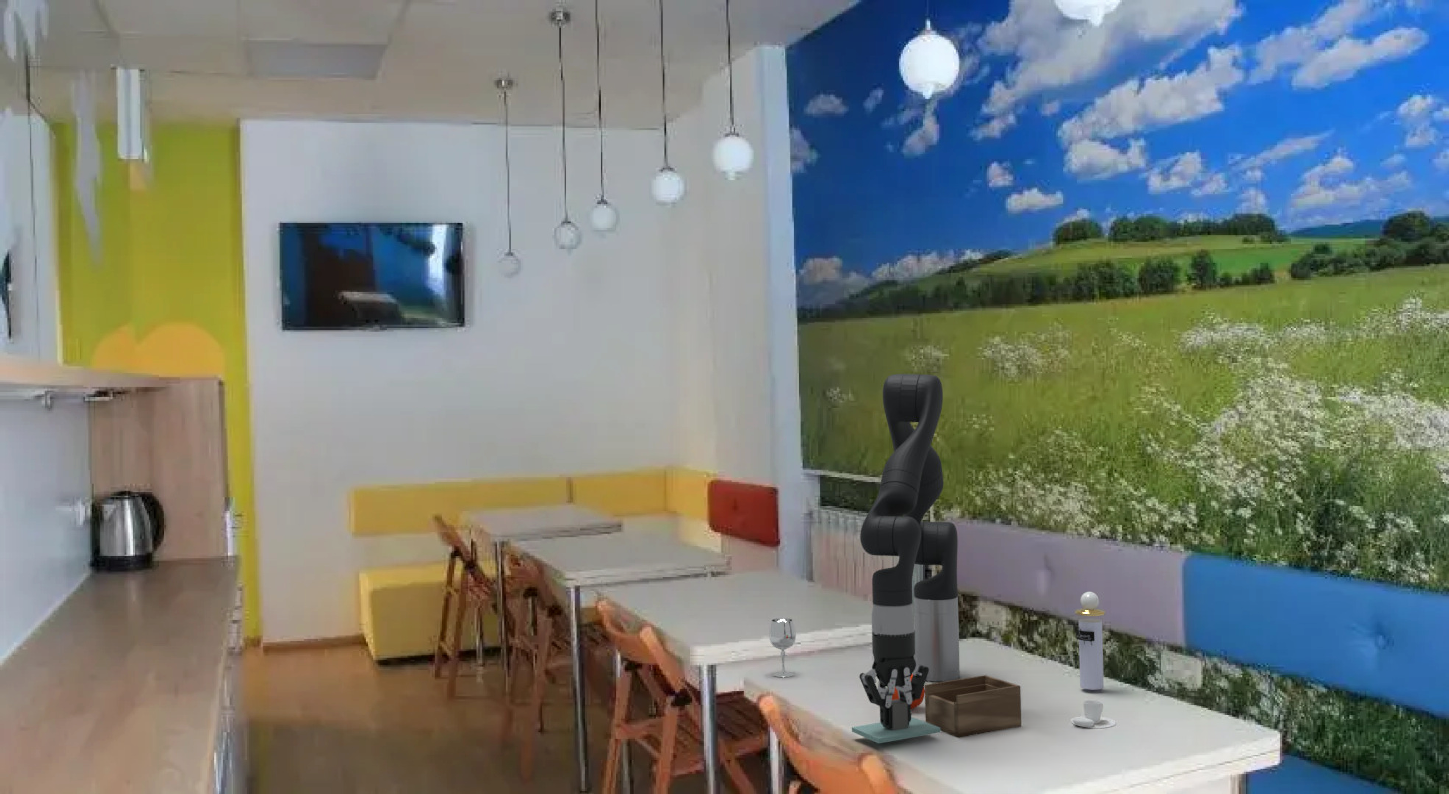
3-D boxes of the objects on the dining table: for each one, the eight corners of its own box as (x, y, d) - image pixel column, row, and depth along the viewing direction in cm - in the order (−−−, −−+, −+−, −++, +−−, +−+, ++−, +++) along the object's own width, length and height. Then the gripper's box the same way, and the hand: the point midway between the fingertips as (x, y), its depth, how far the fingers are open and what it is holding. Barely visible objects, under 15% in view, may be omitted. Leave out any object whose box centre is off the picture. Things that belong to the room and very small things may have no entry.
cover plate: (852, 731, 218) (851, 702, 218) (912, 721, 224) (911, 692, 224) (878, 743, 211) (877, 712, 211) (940, 732, 216) (939, 702, 216)
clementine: (897, 716, 233) (896, 679, 232) (877, 708, 239) (876, 671, 239) (932, 710, 236) (931, 673, 236) (912, 703, 242) (911, 667, 242)
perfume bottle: (1087, 685, 252) (1084, 588, 252) (1112, 690, 248) (1110, 591, 248) (1071, 690, 248) (1068, 592, 248) (1096, 695, 244) (1094, 595, 244)
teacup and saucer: (1082, 733, 220) (1081, 710, 220) (1058, 721, 228) (1058, 699, 228) (1124, 728, 222) (1124, 705, 222) (1100, 717, 230) (1099, 695, 230)
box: (925, 724, 226) (924, 684, 226) (986, 714, 232) (985, 675, 232) (959, 738, 217) (957, 696, 217) (1021, 726, 223) (1020, 685, 223)
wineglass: (779, 670, 273) (778, 617, 273) (801, 673, 269) (800, 619, 269) (765, 676, 268) (763, 621, 268) (787, 679, 265) (786, 623, 265)
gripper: (913, 621, 224) (916, 715, 224) (848, 629, 217) (850, 727, 217) (938, 627, 217) (940, 725, 217) (871, 636, 211) (874, 737, 211)
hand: (895, 725), depth 217 cm, fingers closed on cover plate, 3 cm apart
